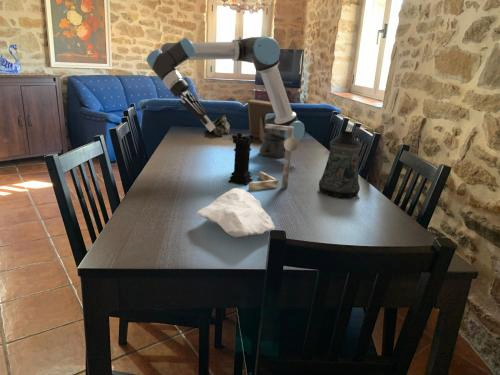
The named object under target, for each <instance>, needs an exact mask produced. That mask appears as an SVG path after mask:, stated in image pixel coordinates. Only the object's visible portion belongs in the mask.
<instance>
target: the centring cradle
mask: <svg viewBox="0 0 500 375" xmlns="http://www.w3.org/2000/svg"><path fill="white" fill-rule="evenodd" d="M267 128H269V129H278V130H287V139H286V140H285V141H284V148H285V157H283V158H284V159H283V160H284V161H283V169H282V170H283V171H282V179H281V180H282V181H281V189H283V190H287V189H288V186H289V184H288V183H289V178H290V177H289V175H290V174H289V173H290V168H291V167H290V166H291V157H292V152H293V151H295V150H296V149H297V148H298V146H299V141H297V139H296V138H294V137H293V130H294V127H292V126H281V125H272V124H266V127H265V128H264V133H267ZM258 179H260V180H261V181H251V182H250V183H249V184H248V191H250V192H251V191H257V190H259V191H260V190H265V189H274V188H278V184H279V180H278V179H277V178H276V177H273V176H271V175H269V174H267V173H265V172H264V171H262V170H260V171H258Z"/></svg>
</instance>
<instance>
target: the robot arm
mask: <svg viewBox="0 0 500 375" xmlns="http://www.w3.org/2000/svg"><path fill="white" fill-rule="evenodd" d="M280 55H281V48H280V44H279V43H278V42H277V40H276V39H274V38H273V37H270V36H266V35H265V36H255V37H254V36H253V37H252V36H251V37H246V38H242V39H233V40H231V41H223V42H222V41H217V42H216V41H213V42H211V41H210V42H206V41H205V42H192V41H191V40H190V39H189V38H188V37H183V38H182V39H179V40H178V41H177V42H166V43H164V44H162V45H161V46H160V49H159V48H156V49H154V50H152V51H151V52H150V53H149V54H148V55H147V57H146V62H147V65H148V66H149V68H151V71H153V72H154V73H155V75H156V76H157V77H158V78H159V79H160V81H161V82H162V84H164V87H166V88H167V89H168V90H169V91H170V93H171V95H172V96H173V97H174V98H179V99H180V100H178V101H179V103H180V104H182V105H183V106H184V108H186V109H187V111H188V112H189V113H190V114H192V116H193V117H194V118H195V119H196V120H197V121H201V122H202V124H203V125H204V126H205V128H206V130H208V131H209V132H212V131H213V129H214V128H216V127H215V126H214V124H213V123H212V122H213V121H212V120H210V118H209V117H208V116H207V115H208V112H206V109H205V108H204V107H203V105H202V104H201V102H200V101H199V99H198V98H197V95H195V94H193V93H191V92H190V91H189V88H190V85H189V84H188V83H187V81H186V79H184V78H183V76H182V75H181V73H180V72H179V71H178V69H176V68H177V67H178V66H180V65H181V64H182V63H184V62H185V61H201V60H202V61H205V60H206V61H207V60H208V61H209V60H210V61H211V60H232V61H234V62H245V63H250V64H251V63H252V64H253V66H254V69H255V71H256V72H258V73H259V74H260V77H261V78H262V82H263V84H264V87H265V89H266V92H267V93H266V94H267V95H268V98H269V102H271V104H272V107H273V110H274V113H275V114H267V115H266V116H265V126H264V128H265V127H266V124H272V125H281V126H292V127H294V130H293V137H294V138H296V139H297V141H298V142H299V141H301V139H302V138H303V136H304V134H305V129H306V128H305V124H304V123H303V122H302V121H301V120H299V119H298V117H297V113H296V112H295V111H293V110H292V107H291V104H290V101H289V98H288V95H287V92H286V89H285V85H284V83H283V79H282V76H281V74H280V70H279V67H278V66H279V65H280V60H279V58H280ZM286 139H287V130H278V129H269V128H267V133H264V139H263V141H262V143H261V145H260V148H259V152H258V154H259V156H262V157H267V158H270V159H271V158H272V159H281V158H285V148H284V141H285V140H286Z"/></svg>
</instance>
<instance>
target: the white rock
mask: <svg viewBox="0 0 500 375" xmlns="http://www.w3.org/2000/svg"><path fill="white" fill-rule="evenodd" d="M196 213H197V215H199V216H200V217H202V218H203V219H206V220H208V221H210V222H211V223H215V224H217V225H219V226H220V228H222V230H223V231H224V232H225V233H227V234H228V235H229V236H231V237H234V238H236V237H237V238H238V237H247V236H249V235H250V236H253V235H255V236H256V235H263V234H264V233H265V232H269V231H270V230H273V231H274V230H275V229H276V226H275V225H274V221H272V217H271V216H270V215H269V214H268V212H266V211H265V209H264V208H262V204H261V201H260V200H259V199H256V198H255V196H253V195H252V193H250V192H249V191H247V190H245V189H243V188H237V187H234V188H230V190H228V191H226V192H224V193H223V194H221V195H220V196H217V197H216V199H215V200H213V201H212V202H211V204H208V205H207V206H204V207H202V208H201V209H199V210H198V211H197V212H196ZM270 232H271V231H270Z"/></svg>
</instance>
